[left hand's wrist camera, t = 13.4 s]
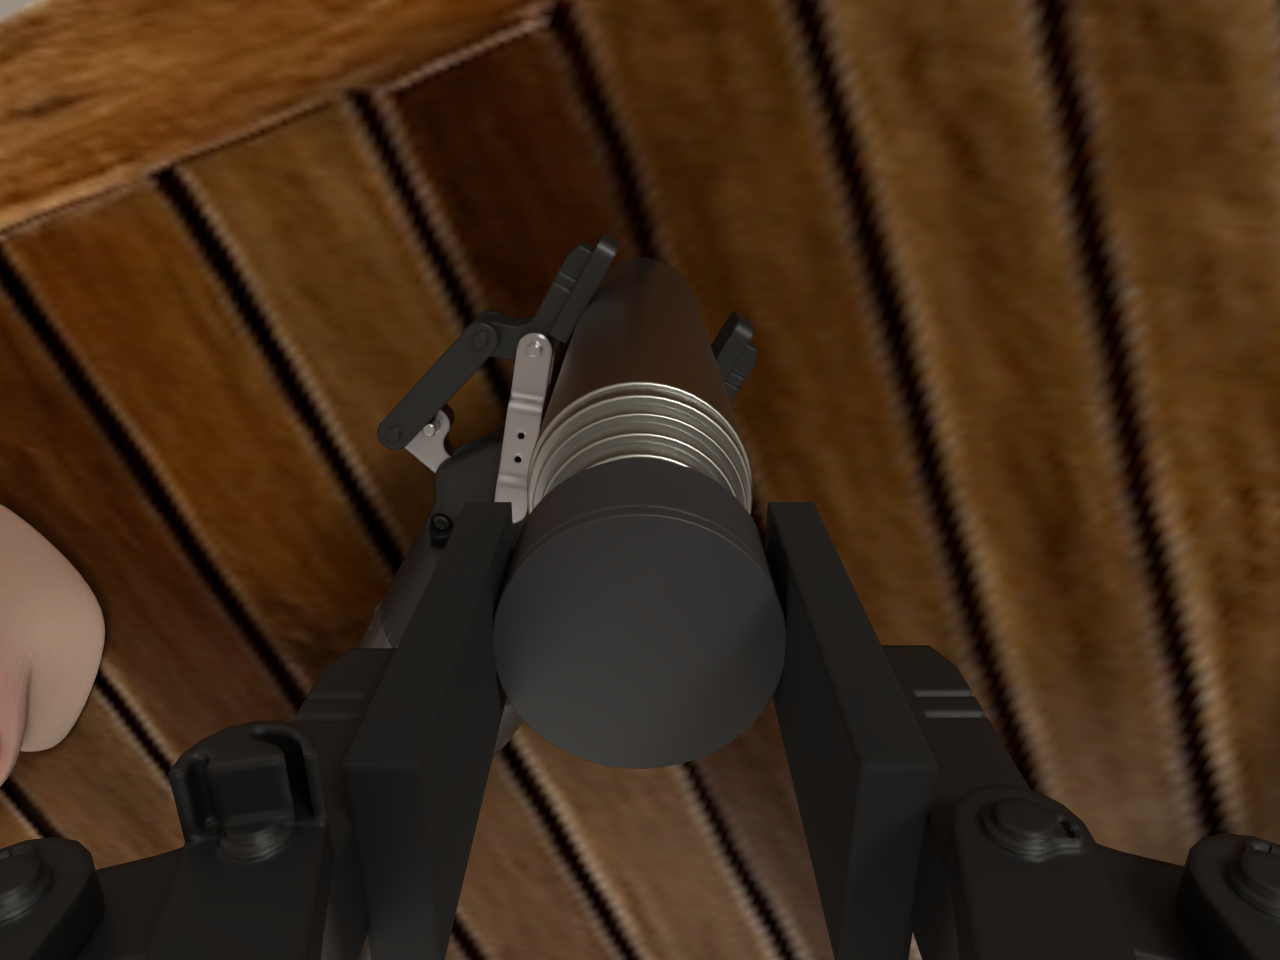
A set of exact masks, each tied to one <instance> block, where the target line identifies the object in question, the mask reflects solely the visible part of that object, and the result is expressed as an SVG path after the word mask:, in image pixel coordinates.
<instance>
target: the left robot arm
mask: <svg viewBox="0 0 1280 960" xmlns="http://www.w3.org/2000/svg"><path fill="white" fill-rule="evenodd" d="M765 550H766V554H767V557H768V560H769V564H770V567H771V570H772V573H773V577H774V580H775V583H776V587H777V590H778V593H779V596H780V600H781V603H782V606H783V610H784V613H785V618H786V625H787V629H786V645H785V658H784V670H783V674H782V678H781V680H780V683H779V685H778V687H777V689H776V692H775V694H774V696H773V700H774V705H775V709H776V713H777V717H778V722H779V726H780V730H781V734H782V738H783V743H784V747H785V751H786V755H787V760H788V764H789V768H790V772H791V776H792V781H793V785H794V789H795V793H796V798H797V802H798V806H799V810H800V814H801V819H802V823H803V827H804V831H805V836H806V840H807V844H808V848H809V852H810V857H811V861H812V865H813V869H814V874H815V878H816V882H817V886H818V891H819V895H820V899H821V903H822V907H823V912H824V916H825V920H826V924H827V929H828V933H829V937H830V941H831V945H832V950H833V954H834V958H835V960H908V957H909V951H910V945H911V938H912V932H913V934H914V936H915V939H916V942H917V945H918V948H919V951H920V954H921V957H922V960H1280V845H1277V844H1274V843H1271V842H1268V841H1265V840H1262V839H1259V838H1256V837H1253V836H1244V835H1236V834H1227V833H1223V834H1218V835H1213V836H1208V837H1203V838H1201V839H1200V840H1199V841H1198V842H1197V843H1196V844H1195V845H1194V846H1193V847H1192V848H1191V849H1190V850H1189V854H1188V857H1187V860H1186V864H1185V867H1184V866H1180V865H1175V864H1171V863H1167V862H1163V861H1158V860H1154V859H1150V858H1146V857H1141V856H1137V855H1133V854H1129V853H1124V852H1121V851H1118V850H1115V849H1111V848H1108V847H1105V846H1102V845H1099V844H1097V843H1095V840H1094V839H1093V837H1092V835H1091V834H1090V832H1089V831H1088V829H1087V827H1086V826H1085V824H1084V823H1083V821H1082V820H1080V819H1079V818H1078V817H1077V816H1076V815H1075V814H1073V813H1072V812H1071V811H1070V810H1069V809H1067V808H1066V807H1065V806H1064V805H1063V804H1061V803H1059V802H1057V801H1055V800H1053V799H1051V798H1049V797H1047V796H1045V795H1043V794H1041V793H1039V792H1037V791H1033V790H1030V788H1029V786H1028V785H1027V783H1026V781H1025V780H1024V778H1023V776H1022V775H1021V773H1020V771H1019V770H1018V768H1017V766H1016V765H1015V763H1014V761H1013V760H1012V758H1011V756H1010V755H1009V753H1008V751H1007V750H1006V748H1005V746H1004V745H1003V743H1002V741H1001V740H1000V738H999V736H998V735H997V733H996V731H995V730H994V728H993V726H992V725H991V723H990V721H989V720H988V718H985V717H984V711H983V710H982V708H981V706H980V704H979V703H978V701H977V699H976V698H975V697H972V691H971V689H970V688H969V686H968V684H967V683H966V681H965V679H964V678H963V676H962V674H961V673H960V671H959V669H958V668H957V667H956V666H955V665H954V664H953V663H951V662H950V661H949V660H947V659H946V658H945V657H943V656H942V655H941V654H940V653H938V652H937V651H936V650H934V649H933V648H932V647H930V646H929V645H881V644H880V642H879V640H878V638H877V636H876V634H875V631H874V629H873V627H872V625H871V623H870V621H869V619H868V617H867V615H866V613H865V610H864V608H863V606H862V604H861V602H860V600H859V598H858V596H857V594H856V591H855V589H854V587H853V585H852V583H851V581H850V579H849V577H848V575H847V572H846V570H845V568H844V566H843V564H842V562H841V560H840V558H839V556H838V553H837V551H836V549H835V547H834V545H833V543H832V541H831V539H830V537H829V534H828V532H827V530H826V528H825V526H824V524H823V522H822V520H821V518H820V516H819V513H818V511H817V509H816V507H815V505H814V503H813V502H768V510H767V527H766V544H765ZM513 552H514V536H513V519H512V502H466V504H465V506H464V508H463V510H462V512H461V514H460V516H459V519H458V521H457V523H456V525H455V527H454V529H453V531H452V533H451V535H450V538H449V540H448V542H447V544H446V546H445V548H444V550H443V552H442V554H441V556H440V559H439V561H438V563H437V565H436V567H435V569H434V571H433V573H432V575H431V578H430V580H429V582H428V584H427V586H426V588H425V590H424V592H423V594H422V597H421V599H420V601H419V603H418V605H417V607H416V609H415V611H414V613H413V616H412V618H411V620H410V622H409V624H408V626H407V628H406V630H405V632H404V634H403V637H402V639H401V641H400V643H399V645H398V647H397V648H350V649H349V650H348V651H346V652H345V653H344V654H342V655H341V656H340V657H339V658H337V659H336V660H335V661H333V662H332V663H331V664H329V665H328V666H327V667H326V668H324V669H323V670H322V672H321V674H320V675H319V677H318V679H317V680H316V682H315V684H314V685H313V687H312V689H311V690H310V692H309V694H308V699H307V700H304V702H303V704H302V705H301V707H300V709H299V711H298V712H297V714H296V719H295V721H292V722H291V723H288V722H285V721H254V722H250V723H246V724H241V725H237V726H233V727H229V728H226V729H224V730H222V731H220V732H218V733H215V734H213V735H211V736H209V737H207V738H204V739H202V740H201V741H200V742H198V743H197V744H196V745H194V746H193V747H192V748H190V749H189V750H188V751H186V752H185V753H184V754H182V755H181V756H180V758H179V759H178V761H177V762H176V763H175V765H174V766H173V768H172V769H171V770H170V772H169V773H168V775H169V779H170V783H171V787H172V791H173V795H174V799H175V803H176V807H177V811H178V815H179V819H180V823H181V827H182V831H183V835H184V839H185V844H184V847H182V848H180V849H176V850H173V851H170V852H167V853H164V854H160V855H157V856H153V857H149V858H145V859H140V860H136V861H132V862H128V863H123V864H119V865H115V866H111V867H107V868H102V869H98V870H96V869H95V866H94V863H93V859H92V856H91V853H90V852H89V851H88V850H87V849H86V848H85V847H84V846H83V845H82V844H80V843H79V842H78V841H75V840H70V839H64V838H59V837H50V838H41V839H33V840H26V841H23V842H20V843H17V844H14V845H11V846H8V847H5V848H2V849H0V960H359V957H360V954H361V951H362V948H363V945H364V942H365V939H366V936H367V935H368V942H369V948H370V954H371V960H445V956H446V952H447V947H448V943H449V939H450V935H451V930H452V926H453V922H454V918H455V914H456V909H457V905H458V901H459V897H460V892H461V888H462V884H463V880H464V876H465V871H466V867H467V863H468V859H469V854H470V850H471V846H472V842H473V838H474V833H475V829H476V825H477V821H478V816H479V812H480V808H481V804H482V800H483V795H484V791H485V787H486V783H487V778H488V774H489V770H490V766H491V762H492V757H493V753H494V749H495V745H496V740H497V736H498V732H499V728H500V724H501V719H502V715H503V711H504V707H505V702H506V698H507V697H506V695H505V693H504V691H503V689H502V687H501V685H500V682H499V679H498V676H497V673H496V665H495V653H494V638H493V619H494V615H495V612H496V608H497V605H498V601H499V598H500V595H501V592H502V588H503V585H504V582H505V578H506V575H507V572H508V569H509V565H510V562H511V559H512V555H513Z"/></svg>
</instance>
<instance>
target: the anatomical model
mask: <svg viewBox="0 0 1280 960" xmlns="http://www.w3.org/2000/svg"><path fill="white" fill-rule="evenodd" d="M104 640H105V624H104V618H103V614H102V610H101V608H100V605H99V603H98V601H97V599H96V597H95V595H94V593H93V592H92V590H91V589H90V587H89V585H88V584H87V583H86V581H85V580H84V579H83V577H82V576H81V575H80V573H79V572H78V571H77V570H76V569H75V568H74V567H73V565H72V564H71V563H70V562H69V561H68V560H67V559H66V558H65V557H64V556H63V555H62V554H61V553H60V552H59V551H58V550H57V549H56V548H55V547H54V546H53V545H52V544H51V543H50V542H49V541H48V540H47V539H46V538H44V537H43V536H42V535H41V534H40V533H39V532H38V531H36V530H35V529H34V528H33V527H32V526H31V525H30V524H28V523H27V522H26V521H24V520H23V519H22V518H20V517H19V516H18V515H16V514H15V513H14V512H12V511H11V510H9V509H8V508H6V507H4V506H3V505H1V504H0V786H1V785H2V784H3V783H4V782H5V781H6V779H7V778H8V776H9V775H10V773H11V772H12V770H13V768H14V766H15V764H16V761H17V759H18V756H19V753H20V751H30V752H32V751H41V750H45V749H49V748H51V747H53V746H55V745H56V744H58V743H59V742H61V741H62V740H63V739H64V738H65V737H66V735H67V734H68V733H69V731H70V730H71V728H72V727H73V726H74V724H75V723H76V721H77V719H78V717H79V715H80V713H81V711H82V709H83V707H84V705H85V703H86V701H87V698H88V696H89V694H90V691H91V689H92V686H93V683H94V680H95V677H96V675H97V672H98V668H99V665H100V661H101V657H102V652H103V647H104Z"/></svg>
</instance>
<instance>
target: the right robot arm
mask: <svg viewBox="0 0 1280 960" xmlns="http://www.w3.org/2000/svg"><path fill="white" fill-rule="evenodd" d="M619 245H620V243H619V242H618V241H616V240H614V239H613V238H611V237H609V236H607V235H606V234H604V233H603V234H602V235H601V237H600V239H599V241H598V243H597V244H596V246H595V248H594V247H592V246H591V245H589V244H587V243H586V242H584V241H581V242H580V243H579V244H577V245H576V246H575V247H574V248H573V249H571V250H570V252H569V253H568V255H567V257H566V259H565V261H564V263H563V264H562V266H561V268H560V270H559V272H558V274H557V276H556V278H555V279H554V281H553V283H552V285H551V287H550V289H549V291H548V293H547V294H546V296H545V298H544V300H543V302H542V304H541V306H540V307H539V309H538V311H537V312H536V313H535V314H534V315H532V316H530V317H528V318H514V317H508V316H503V315H502V314H501V313H499V312H498V311H495V310H486V311H483V312H482V313H480V314H479V315H478V317H477V318H476V319H475V320H474V321H473V322H472V323H471V324H470V325H469V326H468V328H467V329H466V330H465V331H464V332H463V333H462V334H461V335H460V336H459V337H458V339H457V340H456V341H455V342H454V343H453V344H452V345H451V346H450V347H449V348H448V350H447V351H446V352H445V353H444V354H443V355H442V356H441V357H440V358H439V359H438V361H437V362H436V363H435V364H434V365H433V366H432V367H431V368H430V369H429V370H428V372H427V373H426V374H425V375H424V376H423V377H422V378H421V379H420V380H419V381H418V383H417V384H416V385H415V386H414V387H413V388H412V389H411V390H410V391H409V393H408V394H407V395H406V396H405V397H404V398H403V399H402V400H401V401H400V402H399V404H398V405H397V406H396V407H395V408H394V409H393V410H392V411H391V412H390V413H389V415H388V416H387V417H386V418H385V419H384V420H383V421H382V422H381V423H380V425H379V427H378V430H377V435H378V438H379V440H380V442H381V443H382V444H383V445H384V446H385V447H387V448H389V449H392V450H400V449H403V448H405V449H407V450H408V451H409V452H410V453H411V454H413V455H414V456H415V457H416V458H417V459H419V460H420V461H421V462H422V463H423V464H425V465H426V466H427V467H428V468H429V469H431V470H432V471H433V472H434V473H435V476H434V503H433V506H432V508H431V510H430V512H429V514H428V516H427V518H426V520H425V521H424V523H423V525H422V527H421V529H420V531H419V533H418V535H417V536H416V538H415V540H414V542H413V544H412V546H411V548H410V549H409V551H408V553H407V555H406V557H405V559H404V561H403V563H402V564H401V566H400V568H399V570H398V572H397V574H396V576H395V577H394V579H393V581H392V583H391V585H390V587H389V589H388V591H387V592H386V594H385V596H384V598H383V599H382V600H381V601H380V603H379V604H378V605H377V607H376V609H375V611H374V615H373V619H372V621H371V622H370V624H369V626H368V628H367V630H366V632H365V634H364V635H363V638H362V640H361V642H360V644H359V646H358V648H397V647H398V645H399V643H400V641H401V639H402V637H403V634H404V632H405V630H406V628H407V626H408V624H409V622H410V620H411V618H412V616H413V613H414V611H415V609H416V607H417V605H418V603H419V601H420V599H421V597H422V594H423V592H424V590H425V588H426V586H427V584H428V582H429V580H430V578H431V575H432V573H433V571H434V569H435V567H436V565H437V563H438V561H439V559H440V556H441V554H442V552H443V550H444V548H445V546H446V544H447V542H448V540H449V538H450V535H451V533H452V531H453V529H454V527H455V525H456V523H457V521H458V519H459V516H460V514H461V512H462V510H463V508H464V506H465V504H466V502H512V519H513V536H514V549H515V546H516V542H517V539H518V536H519V534H520V532H521V529H522V527H523V525H524V523H525V521H526V520H527V518H528V517H529V512H528V501H527V476H528V467H529V463H530V460H531V456H532V452H533V449H534V447H535V444H536V441H537V438H538V435H539V432H540V429H541V426H542V423H543V420H544V417H545V414H546V411H547V409H548V405H549V398H550V392H551V381H552V374H553V367H554V361H555V354H556V350H557V348H558V346H559V344H560V342H563V343H565V344H566V343H567V341H568V339H569V338H570V336H571V334H572V332H573V330H574V329H575V327H576V325H577V322H578V321H579V319H580V317H581V315H582V314H583V312H584V311H585V309H586V307H587V305H588V303H589V302H590V300H591V298H592V296H593V294H594V293H595V291H596V289H597V287H598V285H599V284H600V282H601V280H602V278H603V276H604V275H605V273H606V271H607V269H608V267H609V266H610V264H611V262H612V260H613V258H614V256H615V255H616V253H617V251H618V249H619ZM754 331H755V328H754V326H753V325H752V323H751V321H749V320H747V319H746V318H744V317H742V316H741V315H739V314H737V313H736V312H733V313H732V314H731V315H730V316H729V317H728V319H727V320H726V322H725V324H724V325H723V327H722V328H721V330H720V332H719V333H718V335H717V336H716V338H715V340H714V341H713V343H712V345H711V348H712V351H713V354H714V357H715V360H716V363H717V366H718V369H719V372H720V375H721V378H722V380H723V383H724V386H725V389H726V392H727V395H728V398H729V401H730V403H731V401H732V400H733V398H734V397H735V395H736V394H737V392H738V390H739V388H740V387H741V386H742V384H743V383H744V381H745V379H746V378H747V377H748V375H749V373H750V372H751V370H752V369H753V367H754V366H755V361H756V356H757V351H758V350H757V348H756V347H755V345H754V343H753V342H752V341H751V338H752V336H753V334H754ZM490 356H492V357H498V358H503V359H509V360H515V368H514V375H513V383H512V390H511V395H510V399H509V404H508V409H507V416H506V424H505V427H503V428H501V429H498V430H496V431H494V432H492V433H489V434H487V435H485V436H482V437H480V438H478V439H475V440H473V441H471V442H468V443H466V444H464V445H462V446H459V447H457V448H454V447H453V446H452V445H451V443H450V441H449V437H448V435H449V430H450V428H451V427H452V425H453V423H454V420H455V417H454V412H453V410H452V409H451V408H450V406H448V405H447V404H446V403H447V402H448V401H449V400H450V399H451V398H452V396H453V395H454V394H455V393H456V392H457V391H458V390H459V389H460V388H461V387H462V386H463V385H464V384H465V382H466V381H467V380H468V379H469V378H470V377H471V376H472V375H473V374H474V373H475V372H476V371H477V370H478V368H479V367H480V366H481V365H482V364H483V363H484V362H485V361H486V360H487V359H488V358H489V357H490ZM523 721H524V720H523V719H522V718H521V717H520V715H519V714H518V713H517V712H516V710H515V709H514V707H513V706H512V705H511V703H510V702H509V700H508V699H507V698H506V702H505V707H504V711H503V715H502V719H501V724H500V728H499V732H498V736H497V740H496V745H495V749H494V753H493V757H492V759H493V758H494V757H495V756H496V755H497V754H498V753H499V751H500V750H501V749H502V748H503V747H504V746H505V745H506V744H507V742H508V741H509V740H510V739H511V738H512V736H513V735H514V734H515V732H516V731H517V729H518V728H519V727H520V725H521V724H522V722H523ZM359 960H371V954H370V948H369V942H368V935H367V936H366V939H365V942H364V945H363V948H362V951H361V954H360V957H359Z"/></svg>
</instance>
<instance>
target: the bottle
mask: <svg viewBox="0 0 1280 960" xmlns="http://www.w3.org/2000/svg"><path fill="white" fill-rule="evenodd" d="M626 459H656V460H662V461H668V462H673V463H676V464H680V465H683V466H686V467H689V468H692V469H694V470H696V471H698V472H701V473H703V474H705V475H707V476H708V477H710V478H712V479H713V480H715V481H716V482H718V483H720V484H721V485H722V486H723V487H725V488H726V489H727V490H728V491H729V492H731V493H732V494H733V495H734V496H735V497H736V498H737V499H738V500H739V502H740V503H741V504H742V505H743V506H744V507H745V509H746V510H747V512H748V513H749V514H750V515H751V510H752V489H753V481H752V470H751V466H750V461H749V457H748V454H747V451H746V448H745V445H744V442H743V439H742V436H741V433H740V430H739V428H738V425H737V422H736V419H735V416H734V413H733V410H732V407H731V404H730V401H729V398H728V395H727V392H726V389H725V386H724V383H723V380H722V378H721V375H720V372H719V369H718V366H717V363H716V360H715V357H714V354H713V351H712V348H711V345H710V342H709V339H708V336H707V333H706V331H705V328H704V325H703V322H702V319H701V316H700V313H699V310H698V307H697V304H696V301H695V298H694V295H693V293H692V290H691V288H690V286H689V285H688V283H687V282H686V280H685V279H684V278H683V277H682V275H681V274H680V273H679V272H678V271H676V270H675V269H674V268H673V267H671V266H669V265H668V264H666V263H664V262H661V261H659V260H656V259H652V258H646V257H634V258H628V259H624V260H621V261H618V262H616V263H614V264H612V265H610V266H609V267H608V269H607V271H606V273H605V275H604V276H603V278H602V280H601V282H600V284H599V285H598V287H597V289H596V291H595V293H594V294H593V296H592V298H591V300H590V302H589V303H588V305H587V307H586V309H585V311H584V312H583V314H582V315H581V317H580V319H579V321H578V322H577V325H576V327H575V330H574V332H573V335H572V338H571V341H570V344H569V347H568V350H567V353H566V356H565V359H564V362H563V365H562V368H561V370H560V373H559V376H558V379H557V382H556V385H555V388H554V391H553V394H552V397H551V400H550V403H549V406H548V409H547V411H546V414H545V417H544V420H543V423H542V426H541V429H540V432H539V435H538V438H537V441H536V444H535V447H534V449H533V452H532V456H531V460H530V463H529V467H528V476H527V501H528V512H529V515H530V513H531V512H532V510H533V509H534V508H535V507H536V505H537V504H538V503H539V502H540V501H541V500H542V499H543V497H544V496H546V495H547V494H548V493H549V492H550V491H551V490H552V489H554V488H555V487H556V486H557V485H559V484H560V483H562V482H563V481H565V480H566V479H568V478H569V477H571V476H573V475H575V474H577V473H579V472H581V471H583V470H585V469H588V468H591V467H594V466H596V465H599V464H602V463H607V462H612V461H617V460H626Z"/></svg>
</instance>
